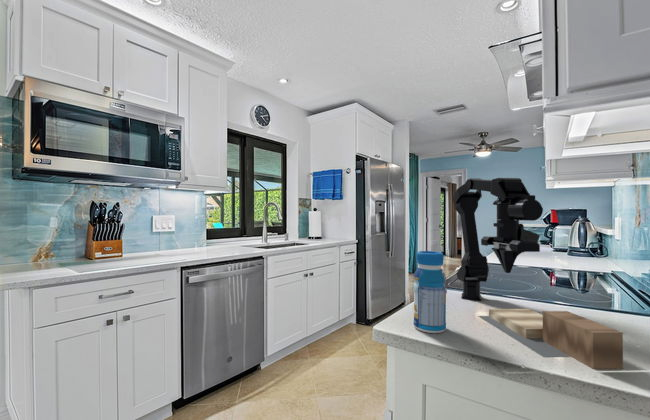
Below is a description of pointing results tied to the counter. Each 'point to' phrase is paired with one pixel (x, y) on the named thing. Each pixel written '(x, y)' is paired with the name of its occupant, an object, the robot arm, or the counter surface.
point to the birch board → (520, 321)
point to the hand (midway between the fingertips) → (507, 272)
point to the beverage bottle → (430, 293)
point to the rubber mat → (528, 340)
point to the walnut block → (584, 339)
